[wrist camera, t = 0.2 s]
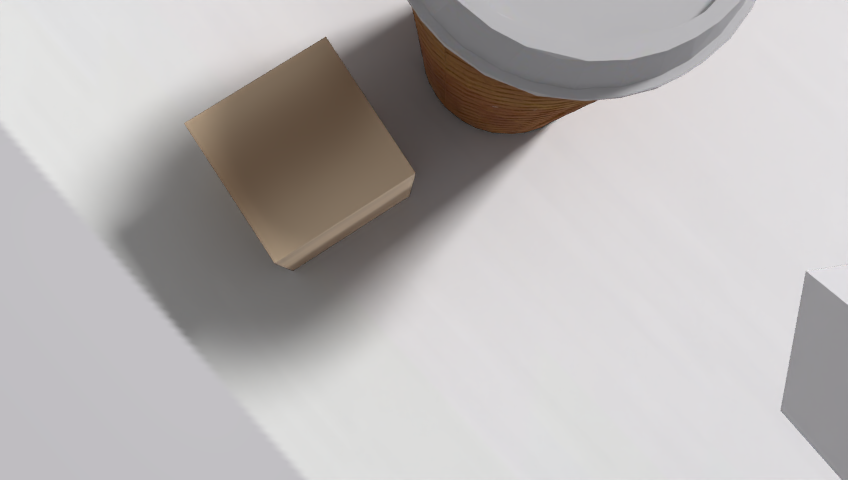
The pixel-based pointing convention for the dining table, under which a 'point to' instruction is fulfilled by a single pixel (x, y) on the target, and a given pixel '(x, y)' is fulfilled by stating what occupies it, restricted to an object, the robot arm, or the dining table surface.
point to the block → (303, 155)
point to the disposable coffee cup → (561, 52)
